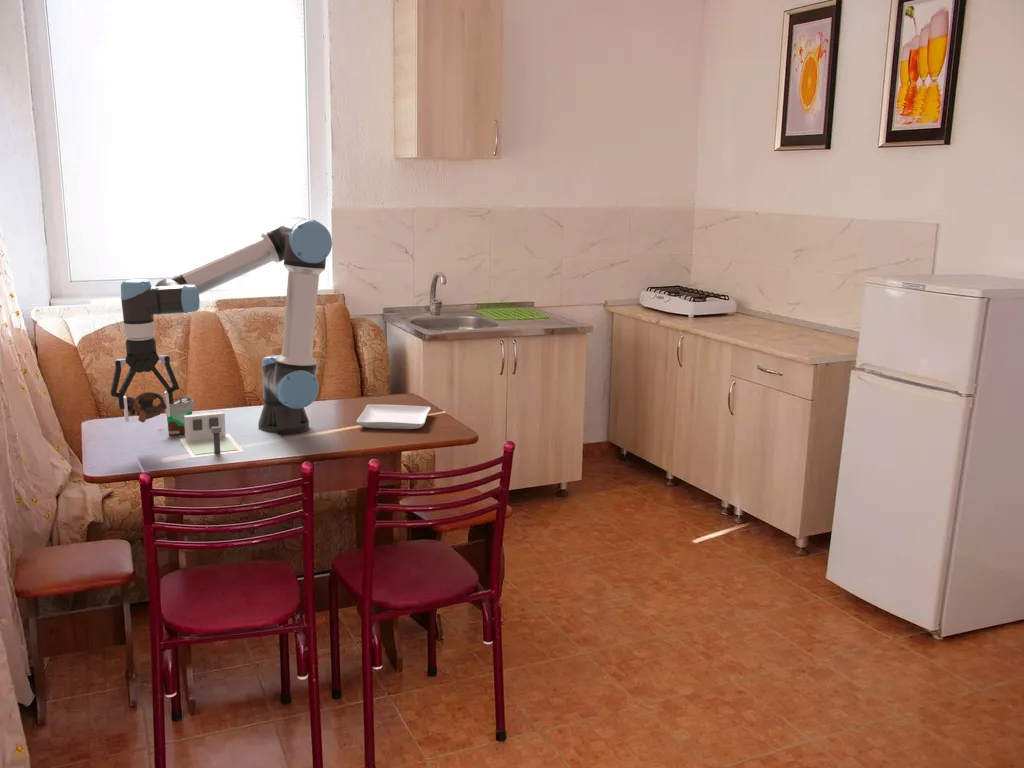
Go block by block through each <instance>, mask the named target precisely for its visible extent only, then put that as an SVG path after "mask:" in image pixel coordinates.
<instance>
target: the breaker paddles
mask: <svg viewBox="0 0 1024 768" xmlns="http://www.w3.org/2000/svg"><path fill="white" fill-rule="evenodd" d="M209 424H210V429H211V427H215V426H219V423H218V418H209ZM193 430H194V431H196V430H202V419H198V420H193Z"/></svg>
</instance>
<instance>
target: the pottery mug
mask: <svg viewBox="0 0 1024 768" xmlns="http://www.w3.org/2000/svg"><path fill="white" fill-rule="evenodd" d="M126 398H127V407H128V413H130V415H131V416H135V414H136V415H137V417H138V418H137V420H138V421H139V422H141V423H145V422H146V421H147V420H150V419H152V418H155V417H157V416H160V415H161V414H162V413H163V412H164V411H165V410H166V409H167V407H166V405H165V399H164V397H163V396H162V395H161V394H160V393H158V392H152V391H144V392H141V393H139V394H138V395H136V396H135V397H133V396H126ZM157 399H159V400H160V403H159V404H158V405H154V404H153V403H154V401H155V400H157Z"/></svg>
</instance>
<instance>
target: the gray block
mask: <svg viewBox="0 0 1024 768" xmlns="http://www.w3.org/2000/svg"><path fill="white" fill-rule="evenodd" d="M211 432H212V433H213V435H214V454H220V432H221V427H220V426H215V427H211ZM220 455H221V454H220Z"/></svg>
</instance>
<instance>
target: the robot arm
mask: <svg viewBox="0 0 1024 768" xmlns="http://www.w3.org/2000/svg"><path fill="white" fill-rule="evenodd" d="M332 238H333V237H332V235H331V233H330V231H329V230H328V228H327V227H326V226H325V225H324V224H322V223H321V222H319V221H317V220H316V219H311V218H303V217H299V216H298V217H291V218H289V219H287V220H285V221H283V222H281V223H279V224H277V225H276V226H273V227H272V228H270V229H268V230H265V231H263V232H262V233H261V236H260V237H258V238H256V239H255V240H252V241H250V242H248V243H246V244H243V245H240V246H238V247H236V248H233V249H232V250H230V251H228V252H225V253H223V254H220V255H218V256H216V257H215V258H212V259H210V260H208V261H205V262H203V263H201V264H199V265H197V266H194V267H192V268H190V269H187V270H185V271H183V272H181V273H179V274H176V275H174V276H172V277H167V278H163V279H160V280H159V281H158V282H157V283H155V285H154V286H152V284H151V281H150V280H149V279H144V278H142V279H141V278H140V279H139V278H138V279H137V278H136V279H127V280H124V281H122V282H121V284H120V299H121V301H120V302H121V308H122V318H123V319H122V320H123V328H124V338H126V340H125V349H126V350H125V351H126V356H125V358H115V359H114V366H115V369H114V373H113V379H112V383H111V387H110V395H111V397H113V398H114V397H116V398H117V400H118V406H119V407H118V408H119V410H123V415H124V420H125V422H126V423H128V422H129V421H130V420H129V419H130V417H129V412H128V407H127V398H126V397H127V396H126V395H125V394H126V392H127V391H128V388H129V387H130V385H131V382H132V380H133V379H134V377H135V375H136V373H138V374H140V373H144V372H145V373H150V372H153V374H154V375H155V377H156V378H157V379H158V381H160V384H161V385H162V386H163V387H164V388H165V390H166V391H163V395H164V397H163V399H164V403H165V405H166V407H167V409H165V416H166V418H167V417H170V407H169V405H171V404H173V402H174V395H173V392H175V391H178V390H179V389H180V386H179V384H178V381H177V378H176V376H175V374H174V373H175V372H173V369H172V367H171V364H170V363H171V362H170V359H171V358H170V356H169V355H168V354H164V355H159V354H158V352H157V343H156V341H157V340H156V338H155V335H156V329H155V320H154V315H157V316H158V315H167V314H168V315H169V314H170V315H171V314H172V315H173V314H189V313H197V312H198V311H199V310H200V306H201V305H200V303H201V301H200V295H201V294H204V293H206V292H208V291H211V290H213V289H215V288H216V287H219V286H221V285H223V284H226V283H228V282H230V281H232V280H235V279H237V278H240V277H242V276H243V275H246V274H248V273H250V272H251V271H254V270H256V269H259V268H260V267H262V266H265V265H267V264H269V263H271V262H275V263H279V262H280V263H281V262H283V266H284V267H285V269H287V271H288V275H287V276H288V277H287V287H286V288H287V289H286V298H285V308H284V311H285V312H284V325H283V335H282V346H281V347H282V348H281V353H280V354H277V355H268V356H265V357H263V358H262V360H261V374H262V396H263V398H262V400H263V405H262V410H261V413H260V417H259V419H258V430H261V431H262V432H263V431H264V432H267V433H276V434H277V435H278V436H288V435H296V434H301V433H304V432H306V431H308V430H309V429H310V420H309V418H308V415H307V412H306V409H305V408H306V407H308V406H310V405H311V404H313V402H314V401H315V400H316V399H317V397H318V395H319V391H320V386H319V380H318V378H317V377H316V375H317V363H318V362H317V361H316V359H315V358H314V357H313V350H314V349H313V348H314V337H315V327H316V326H315V325H316V314H317V313H316V312H317V306H318V305H317V302H318V293H319V291H318V290H319V282H320V281H319V280H320V274H321V273H322V272H324V271H325V270H326V262H327V258H328V256H329V255H330V253H331V251H332V248H333V239H332ZM159 360H160V362H161V364H163V365H164V367H165V370H166V373H167V375H168V377H169V379H170V382H171V386H170V385H169V383H168V382H167V381H166V379H165V378H164V377H163V376H162V374H161V372H159V370H158V369H157V367H156V365H157V364H158V362H159ZM125 364H127V365H128V366H129V367H130V368H129V370H128V373H127V374H126V376H125V379H124V380H123V382H122V384H121V387H120V388H119V390H118V387H119V383H120V377H121V375H122V374H121V373H122V368H123V367H125Z"/></svg>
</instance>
